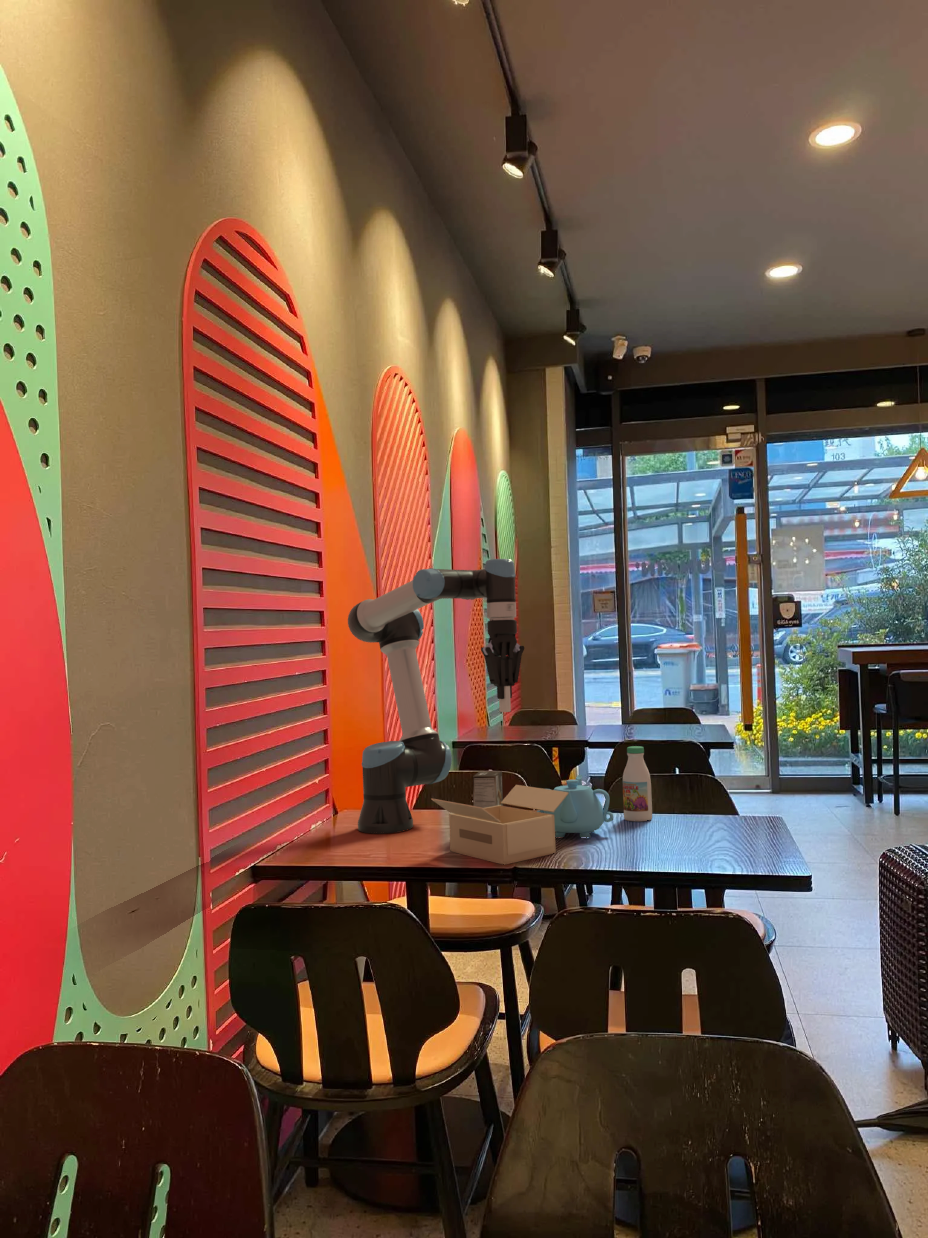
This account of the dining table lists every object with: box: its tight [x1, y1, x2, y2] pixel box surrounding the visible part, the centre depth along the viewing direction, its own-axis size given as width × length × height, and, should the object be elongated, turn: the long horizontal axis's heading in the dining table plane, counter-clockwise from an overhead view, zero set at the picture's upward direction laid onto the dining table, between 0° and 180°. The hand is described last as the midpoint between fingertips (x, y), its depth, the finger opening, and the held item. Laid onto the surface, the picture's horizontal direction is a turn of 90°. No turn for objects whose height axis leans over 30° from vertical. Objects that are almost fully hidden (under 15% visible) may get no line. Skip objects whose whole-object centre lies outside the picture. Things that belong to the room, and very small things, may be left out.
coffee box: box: [472, 770, 504, 808], centre depth 247 cm, size 9×6×16 cm
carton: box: [448, 805, 557, 866], centre depth 226 cm, size 21×16×9 cm
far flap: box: [501, 784, 569, 812], centre depth 232 cm, size 19×1×6 cm
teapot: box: [536, 774, 614, 838], centre depth 243 cm, size 16×20×14 cm
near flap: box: [430, 798, 501, 822], centre depth 219 cm, size 19×1×6 cm
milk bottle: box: [622, 745, 653, 822], centre depth 261 cm, size 8×8×20 cm
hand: (505, 711), depth 241 cm, fingers closed
